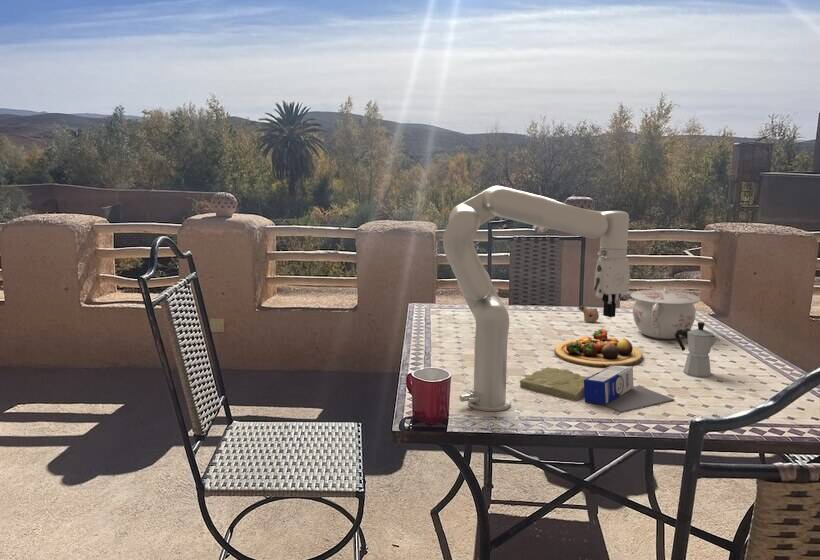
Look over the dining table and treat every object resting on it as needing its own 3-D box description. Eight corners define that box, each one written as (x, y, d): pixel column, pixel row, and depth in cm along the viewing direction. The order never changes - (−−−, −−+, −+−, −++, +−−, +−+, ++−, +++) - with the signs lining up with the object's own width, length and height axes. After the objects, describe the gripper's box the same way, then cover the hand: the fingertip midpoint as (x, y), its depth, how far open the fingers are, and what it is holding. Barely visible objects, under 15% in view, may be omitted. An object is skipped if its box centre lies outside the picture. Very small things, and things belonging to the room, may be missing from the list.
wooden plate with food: (573, 340, 274) (574, 320, 272) (653, 352, 255) (654, 331, 254) (540, 360, 248) (540, 338, 247) (626, 375, 230) (627, 352, 228)
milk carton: (604, 382, 197) (633, 366, 212) (583, 379, 202) (612, 364, 217) (605, 405, 198) (633, 388, 213) (584, 402, 203) (613, 385, 217)
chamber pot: (667, 325, 297) (670, 279, 294) (712, 341, 272) (717, 291, 268) (613, 330, 289) (616, 283, 285) (655, 346, 263) (658, 295, 259)
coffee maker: (720, 374, 229) (725, 323, 226) (710, 380, 222) (715, 328, 219) (677, 365, 239) (681, 316, 236) (667, 370, 233) (670, 320, 230)
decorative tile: (576, 402, 203) (577, 391, 203) (519, 388, 216) (519, 377, 215) (602, 387, 217) (603, 376, 217) (547, 374, 230) (547, 364, 229)
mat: (620, 412, 194) (620, 411, 194) (587, 397, 206) (587, 396, 206) (674, 400, 204) (674, 399, 204) (639, 386, 216) (639, 385, 216)
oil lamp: (578, 322, 302) (578, 305, 301) (578, 320, 306) (578, 303, 305) (598, 323, 300) (599, 306, 299) (598, 321, 304) (599, 304, 302)
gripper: (602, 257, 186) (598, 321, 189) (641, 254, 193) (637, 316, 196) (584, 253, 193) (580, 316, 196) (622, 251, 199) (618, 311, 203)
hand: (609, 316), depth 196 cm, fingers closed
